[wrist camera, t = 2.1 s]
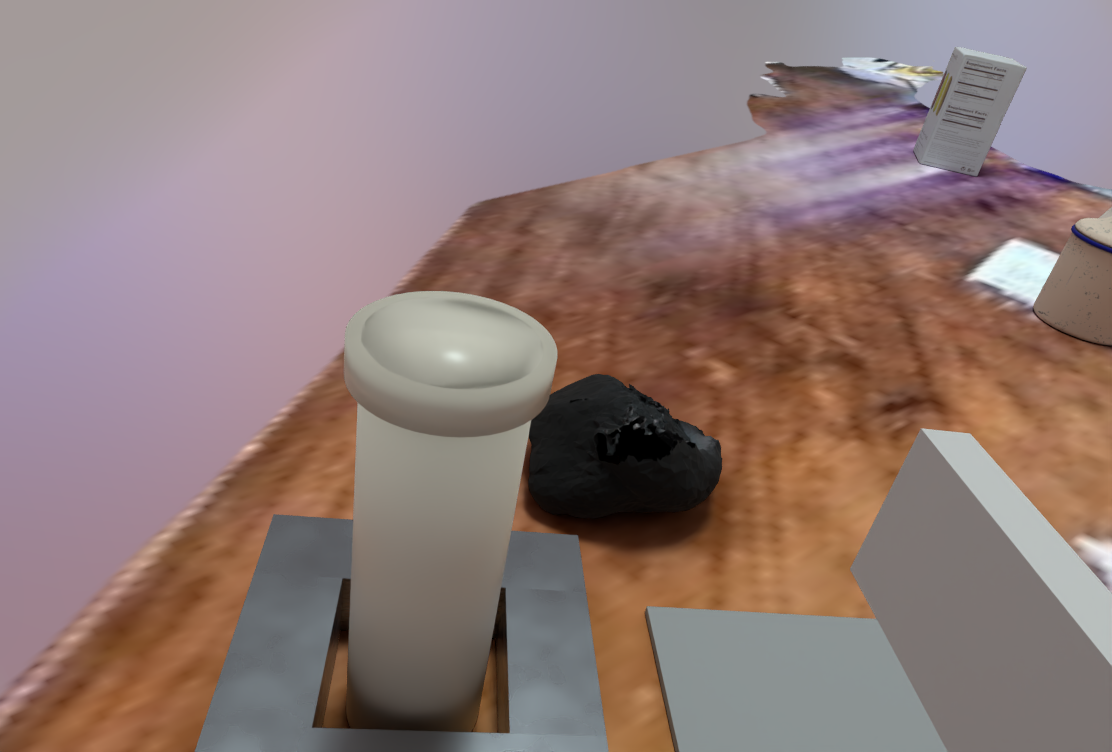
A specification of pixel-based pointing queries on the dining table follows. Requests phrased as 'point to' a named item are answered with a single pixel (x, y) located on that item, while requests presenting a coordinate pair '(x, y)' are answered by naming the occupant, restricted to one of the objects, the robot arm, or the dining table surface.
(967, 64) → the supplement box
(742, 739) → the mat
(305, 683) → the housing
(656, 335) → the dining table surface
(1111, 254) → the teacup with lid
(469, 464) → the cream upright pillar
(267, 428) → the dining table surface
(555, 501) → the rock
